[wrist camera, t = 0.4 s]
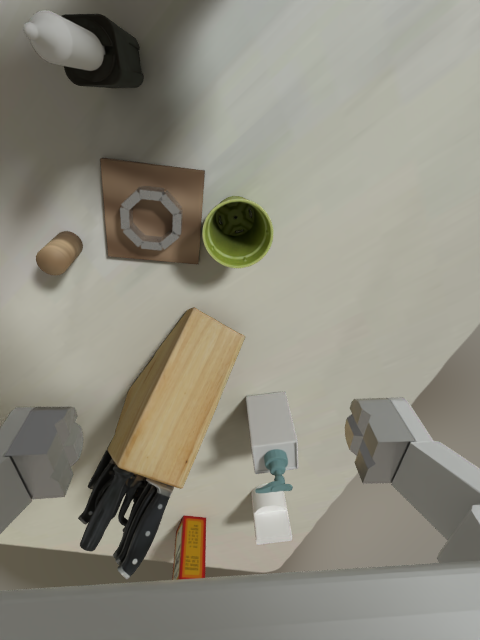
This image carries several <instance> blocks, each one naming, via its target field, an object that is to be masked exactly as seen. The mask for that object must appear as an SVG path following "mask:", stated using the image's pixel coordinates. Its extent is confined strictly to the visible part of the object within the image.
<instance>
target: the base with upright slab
mask: <svg viewBox="0 0 480 640" xmlns="http://www.w3.org/2000/svg"><path fill="white" fill-rule="evenodd" d="M267 484H268V483H265V484H261V485H259V486H257V487H255V488H254V489H253V490H252V492H251V497H252V507H253V517H254V527H255V538H256V543H257V545H260V544H268V543H276V542H284V541H291V540H292V532H291V527H290V521H289V516H288V510H287V505H286V499H285V494H284V491H279V492H269V493H256V492H255V490H256V489H257V488H261V487H263V486H265V485H267Z"/></svg>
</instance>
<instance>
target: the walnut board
mask: <svg viewBox="0 0 480 640" xmlns="http://www.w3.org/2000/svg"><path fill="white" fill-rule="evenodd" d="M100 162H101V174H102V186H103V199H104V211H105V223H106V236H107V248H108V256H111V257H122V258H133V259H144V260H155V261H167V262H178V263H189V264H198V262H199V247H200V232H201V218H202V203H203V189H204V174H205V171H204V170H196V169H188V168H180V167H172V166H164V165H156V164H148V163H140V162H132V161H124V160H116V159H108V158H101V159H100ZM142 186H151V187H159V188H164V192H165V191H166V190H168V191H169V192H170V193H171V195H172V196H173V197H174V198H175V199H176V200H177V202H178V203H179V204H180V205H181V206H182V207H181V209H183V217H182V232H181V235H180V237H179V238H178V239H177V240H176V241H175V242H173V243H172V244H171V245H170V246H169V247H167V248H166V249H165V250H164V249H163V248H162V251H161V250H151V249H141V245H140V246H139V247H137V246H136V245H135V244H134V243H133V242H132V241H131V240H130V239H129V238H128V237H127V236H126V235H125V234H124V233H123V230H124V229H121V217H120V207H121V206H122V205H121V204H122V203H123V202H124V201H125V200H126V199H127V198H128V197H129V196H130V195H131V194H132V193H133V192H134V191H135V190H136V189H138V188H139V187H142ZM133 223H134V224H135V225H136V226H137V227H138V228H139V229H140V230H141V231H142V232H143V233H144V234H145V235H149V236H159V237H163V236H164V235H165V234H166V233H167V232H168V231H170V230H171V229H172V228H173V215H172V214H171V213H170V211H169V210H168V209H167V208H166V207H165V206H164V205H163V204H162V202H161V201H155V200H146V199H141V200H140V201H139V202H138V203H137V204H136V205H134V206H133Z"/></svg>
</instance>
